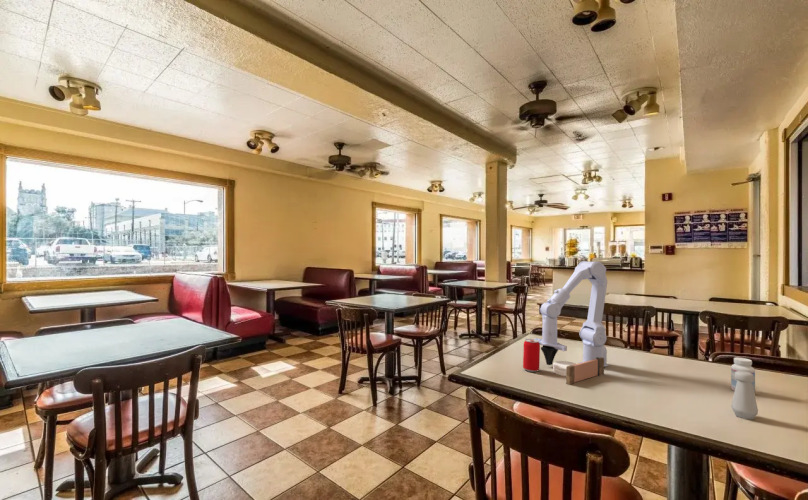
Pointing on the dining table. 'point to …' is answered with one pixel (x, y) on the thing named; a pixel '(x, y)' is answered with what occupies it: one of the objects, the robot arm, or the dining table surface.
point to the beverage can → (531, 355)
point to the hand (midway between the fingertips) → (549, 364)
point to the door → (585, 370)
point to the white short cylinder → (561, 367)
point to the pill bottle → (741, 365)
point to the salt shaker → (744, 396)
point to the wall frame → (571, 371)
